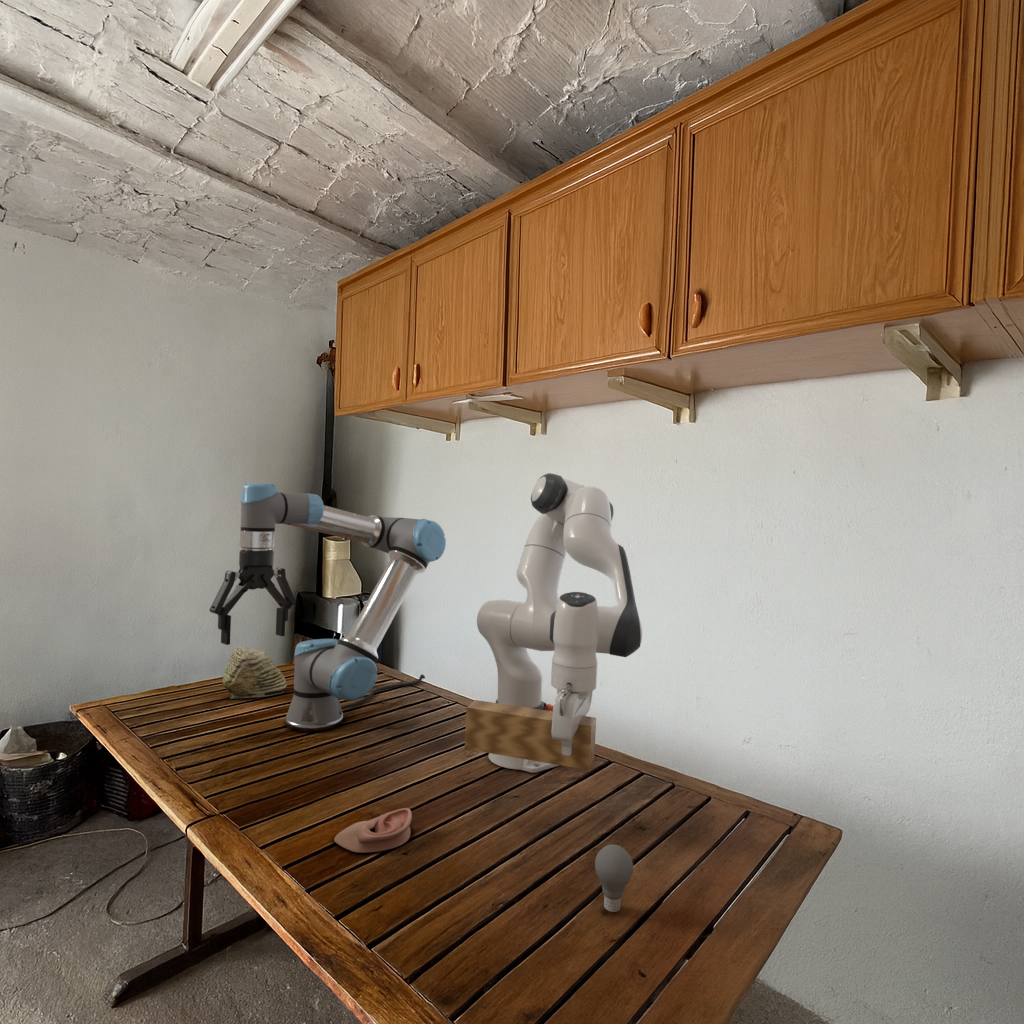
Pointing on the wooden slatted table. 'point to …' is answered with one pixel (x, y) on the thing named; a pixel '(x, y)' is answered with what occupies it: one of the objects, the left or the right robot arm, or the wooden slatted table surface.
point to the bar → (526, 734)
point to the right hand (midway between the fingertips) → (570, 747)
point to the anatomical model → (377, 832)
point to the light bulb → (613, 874)
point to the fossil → (252, 674)
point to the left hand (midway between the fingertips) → (253, 639)
